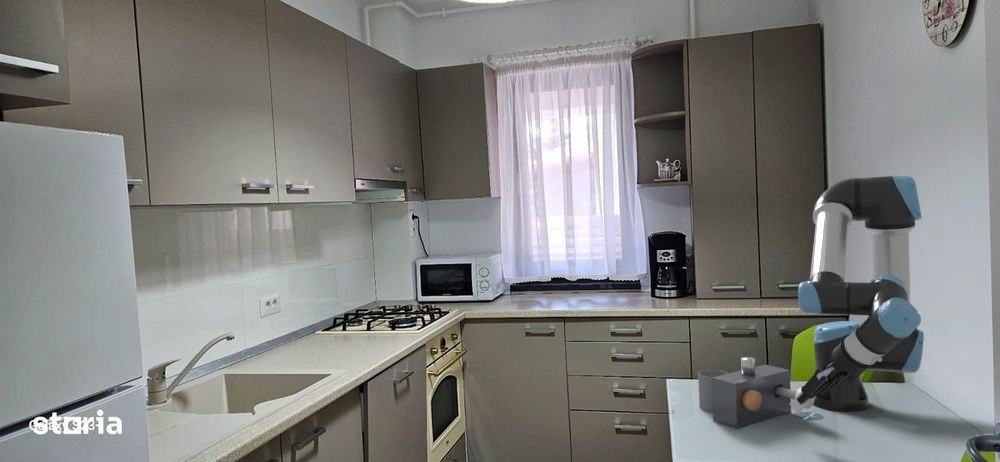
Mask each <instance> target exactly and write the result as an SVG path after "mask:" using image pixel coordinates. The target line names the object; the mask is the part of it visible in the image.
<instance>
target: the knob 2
mask: <svg viewBox="0 0 1000 462" xmlns="http://www.w3.org/2000/svg"><path fill="white" fill-rule="evenodd" d="M801 388H802V386H801V387H799V388H798V389H797V390H794V389H791V390H790V389H786V388H782V387H778V386H775V395H778V396H782V397H786V398H789V399H791V400H792V401H793V400H794V399H795V398H796V397H797V396H798V395H799V394H800V393H802V391H801ZM813 403H814V400H813V401H812V402H811V403H810V404H809V405H808V406H806V407H805V408H804V409H807V410H808V409H811V408H812V407H813V406H814V404H813Z"/></svg>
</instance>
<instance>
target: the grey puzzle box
mask: <svg viewBox="0 0 1000 462" xmlns="http://www.w3.org/2000/svg"><path fill="white" fill-rule="evenodd" d="M775 386H778V387H782V388H786V389H790V390H792V389H791V369H786V368H782V367H779V366H773V365H770V364H763V365H758V366H755V374H753V375H746V374H742V373H741V370H738V371H734V372H730V373H729V372H728V374H725V375H721V376H716V377H712V402H713V412H712V421H713V422H715V423H717V424H721V425H724V426H725V427H726V426H727V427H729V428H733V429H735V430H738V429H742V428H745V427H748V426H752V425H755V424H758V423H762V422H765V421H769V420H772V419H774V418H775V419H776V418H778V417H782V416H785V415H788V414H791V413H792V407H791V405H790V404H789V403H790V402H791V401H792V399H789V398H786V397H782V396H778V395H775ZM749 389H751V390H754V391H758V392H759V393H760V394H761V396H762V403H761V406H760V408H759V409H758V410H756V411H752V410H749V409H746V408H745V407H744V406H743V403H742V398H743V395H744V393H745V392H746V391H747V390H749Z"/></svg>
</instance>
